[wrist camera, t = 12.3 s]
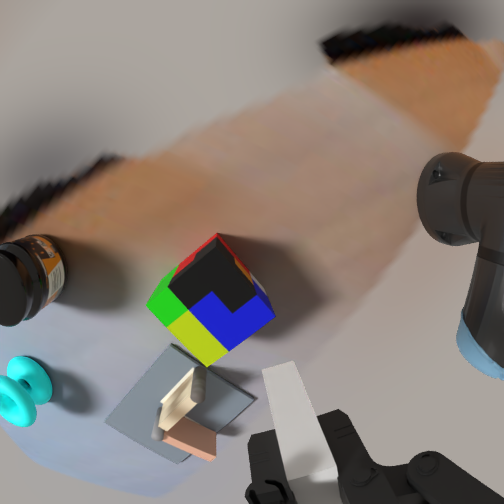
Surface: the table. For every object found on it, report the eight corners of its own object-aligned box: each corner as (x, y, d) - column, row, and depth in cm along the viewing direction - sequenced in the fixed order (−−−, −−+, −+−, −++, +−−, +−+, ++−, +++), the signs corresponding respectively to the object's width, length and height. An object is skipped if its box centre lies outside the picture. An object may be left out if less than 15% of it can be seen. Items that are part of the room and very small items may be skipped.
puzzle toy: (264, 288, 44) (275, 316, 34) (209, 330, 44) (206, 367, 35) (217, 232, 42) (215, 246, 32) (161, 279, 42) (145, 305, 32)
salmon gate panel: (155, 411, 45) (149, 437, 39) (160, 404, 45) (154, 431, 38) (210, 437, 47) (210, 464, 41) (216, 431, 47) (216, 459, 40)
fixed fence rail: (198, 363, 44) (196, 389, 38) (209, 370, 45) (208, 396, 38) (162, 401, 45) (156, 428, 39) (172, 408, 46) (167, 434, 39)
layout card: (170, 343, 44) (169, 346, 43) (253, 397, 47) (253, 400, 46) (105, 419, 46) (104, 422, 45) (177, 461, 49) (177, 464, 48)
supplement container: (82, 274, 41) (43, 302, 29) (44, 312, 41) (5, 345, 30) (42, 218, 39) (-6, 229, 27) (8, 260, 39) (-38, 281, 27)
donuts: (0, 373, 32) (42, 423, 35) (29, 345, 42) (64, 389, 44) (-22, 390, 33) (15, 435, 35) (4, 364, 42) (37, 404, 45)
